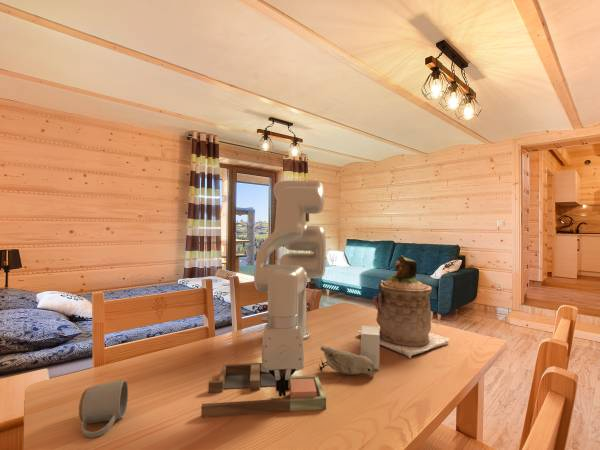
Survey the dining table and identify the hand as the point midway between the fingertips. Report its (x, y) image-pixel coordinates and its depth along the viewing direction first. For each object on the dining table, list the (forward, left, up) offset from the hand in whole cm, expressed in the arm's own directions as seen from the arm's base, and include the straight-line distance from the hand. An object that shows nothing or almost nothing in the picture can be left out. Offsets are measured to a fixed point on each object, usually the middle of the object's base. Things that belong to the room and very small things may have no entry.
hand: (282, 393), depth 78 cm
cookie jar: (-33, +48, -2) cm, 58 cm away
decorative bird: (-10, +19, -2) cm, 22 cm away
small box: (-16, +29, -2) cm, 33 cm away
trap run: (-4, -4, -1) cm, 6 cm away
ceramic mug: (+5, -39, -2) cm, 40 cm away
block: (+1, +5, -2) cm, 5 cm away
